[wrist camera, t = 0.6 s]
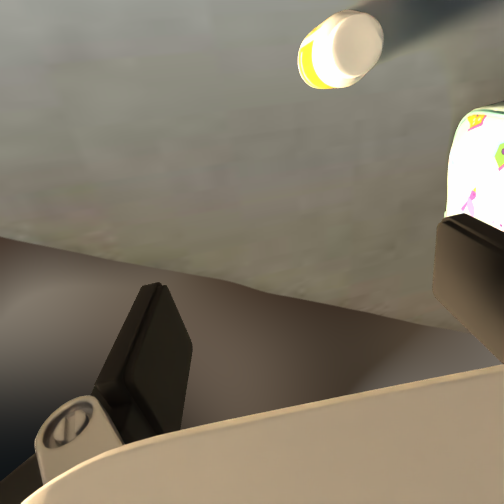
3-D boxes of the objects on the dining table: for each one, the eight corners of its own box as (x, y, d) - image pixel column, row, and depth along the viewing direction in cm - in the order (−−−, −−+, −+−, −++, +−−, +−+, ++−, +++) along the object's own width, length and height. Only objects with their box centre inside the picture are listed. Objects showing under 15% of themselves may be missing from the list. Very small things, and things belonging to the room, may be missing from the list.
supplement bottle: (314, 15, 29) (350, -20, 20) (358, 46, 30) (409, 26, 21) (286, 72, 31) (308, 63, 22) (328, 99, 32) (364, 99, 24)
